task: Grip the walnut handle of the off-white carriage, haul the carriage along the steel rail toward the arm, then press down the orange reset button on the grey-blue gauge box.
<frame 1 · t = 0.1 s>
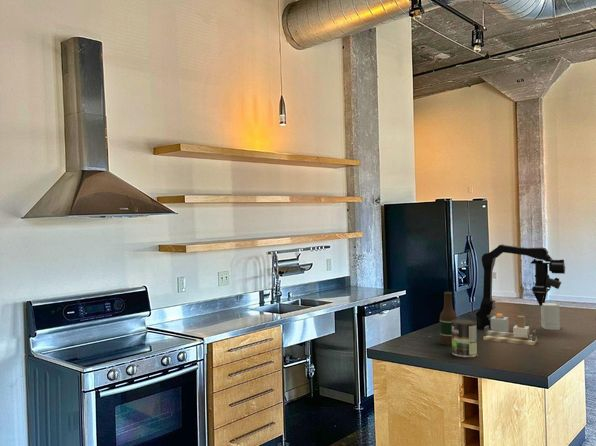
hand: (542, 304, 251), 15 cm above the countertop, tool pointing down, fingers open, 9 cm apart
carriage: (521, 326, 236), point 7 cm above the countertop, slide at 5.0 cm
gauge box: (499, 333, 253), on the countertop
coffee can: (464, 354, 216), on the countertop
beer bottle: (448, 344, 235), on the countertop
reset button: (499, 316, 253), point 9 cm above the countertop, slide at 0.0 cm
rail base: (510, 340, 239), on the countertop
supplement box: (550, 328, 264), on the countertop
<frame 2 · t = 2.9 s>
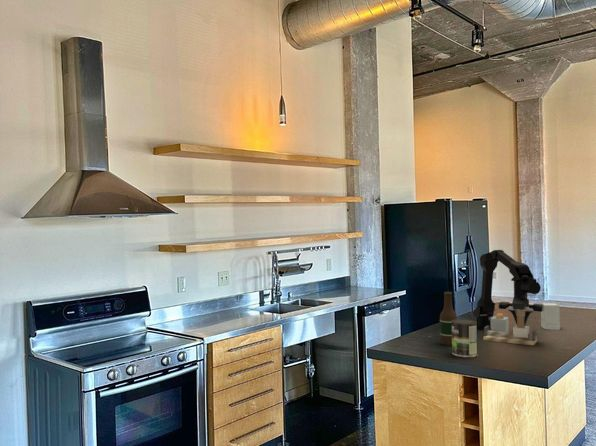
hand: (521, 324, 236), 8 cm above the countertop, tool pointing down, fingers closed on carriage, 3 cm apart
carriage: (521, 326, 236), point 7 cm above the countertop, slide at 5.0 cm, touching gripper
everything else where it was.
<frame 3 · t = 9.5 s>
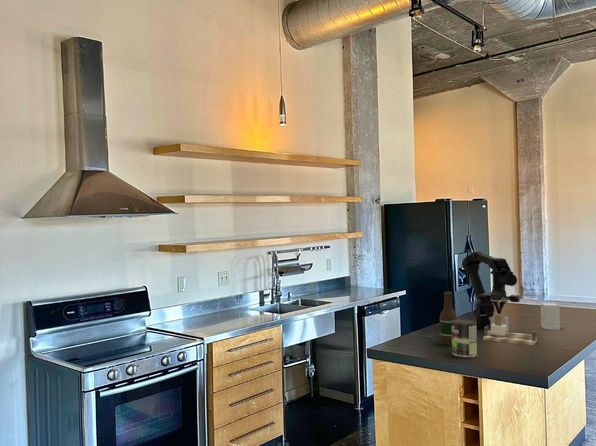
hand: (499, 314, 253), 9 cm above the countertop, tool pointing down, fingers closed, pressing on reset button
carriage: (498, 324, 242), point 7 cm above the countertop, slide at -5.0 cm
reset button: (499, 317, 253), point 8 cm above the countertop, slide at 0.6 cm, touching gripper
everything else where it was.
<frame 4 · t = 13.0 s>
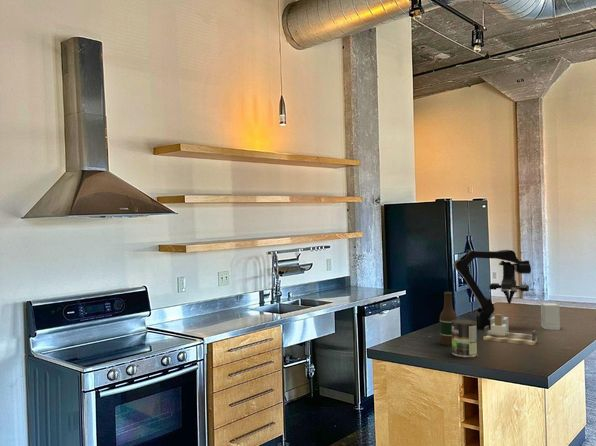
hand: (509, 303, 265), 13 cm above the countertop, tool pointing down, fingers closed
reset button: (499, 320, 253), point 7 cm above the countertop, slide at 1.7 cm
everything else where it was.
at the end: carriage slide at -5.0 cm; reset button slide at 1.7 cm; the gripper is holding nothing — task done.
